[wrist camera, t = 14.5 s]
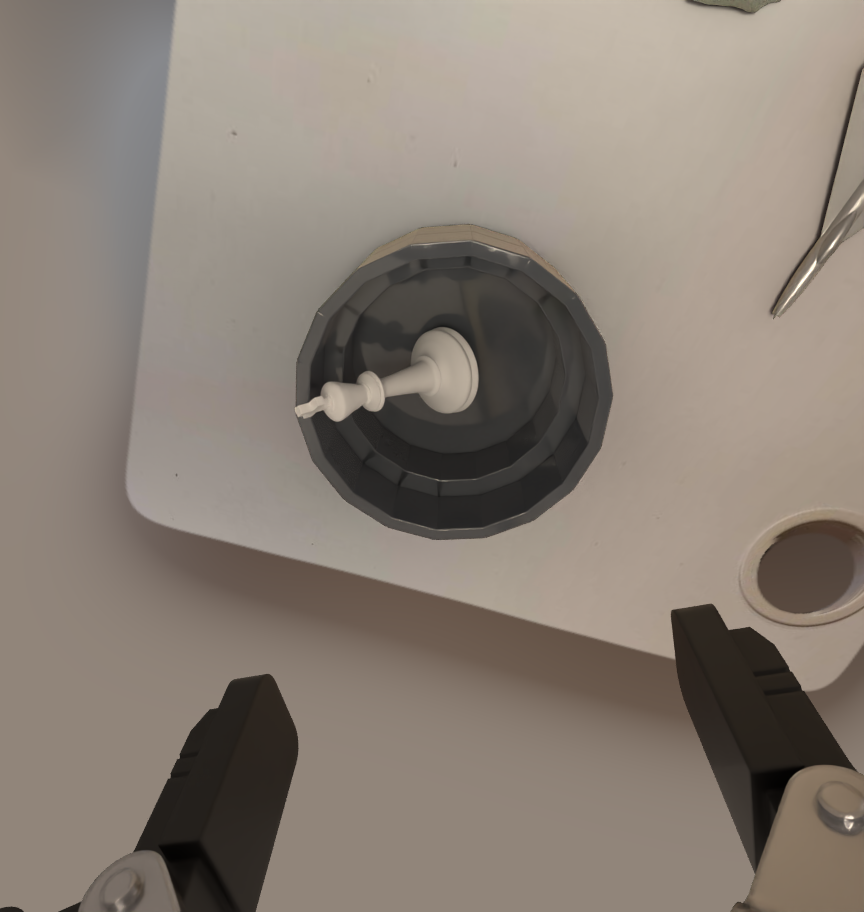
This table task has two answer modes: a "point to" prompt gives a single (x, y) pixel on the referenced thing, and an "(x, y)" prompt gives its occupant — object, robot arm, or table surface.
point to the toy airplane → (836, 207)
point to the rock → (740, 3)
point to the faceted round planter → (498, 395)
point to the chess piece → (409, 380)
